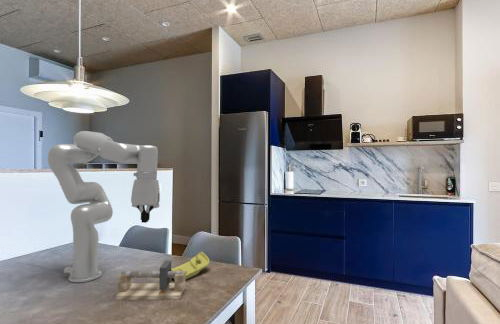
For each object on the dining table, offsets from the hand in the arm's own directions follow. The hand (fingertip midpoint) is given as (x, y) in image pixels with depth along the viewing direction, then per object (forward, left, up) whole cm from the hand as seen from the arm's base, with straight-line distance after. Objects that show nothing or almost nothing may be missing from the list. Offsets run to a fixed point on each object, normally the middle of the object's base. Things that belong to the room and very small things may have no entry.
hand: (144, 221), depth 116 cm
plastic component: (+15, +14, -27) cm, 34 cm away
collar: (+10, -5, -23) cm, 26 cm away
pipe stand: (+5, -5, -26) cm, 27 cm away
